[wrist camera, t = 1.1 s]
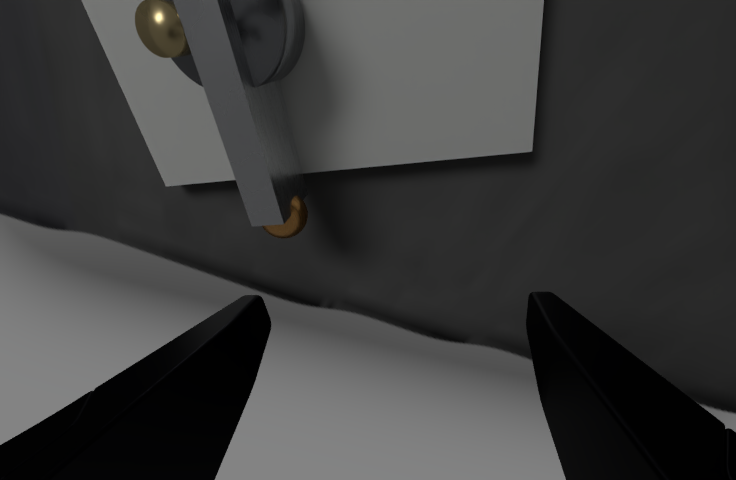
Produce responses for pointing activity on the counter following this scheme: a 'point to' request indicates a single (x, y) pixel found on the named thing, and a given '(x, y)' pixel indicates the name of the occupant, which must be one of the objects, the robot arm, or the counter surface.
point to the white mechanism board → (354, 85)
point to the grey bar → (241, 91)
